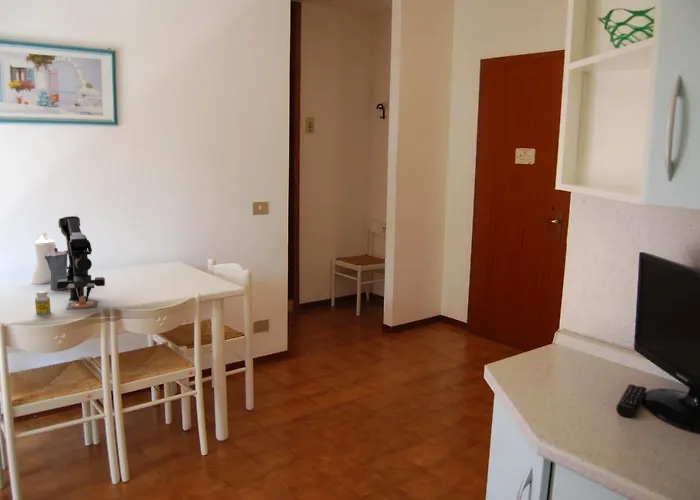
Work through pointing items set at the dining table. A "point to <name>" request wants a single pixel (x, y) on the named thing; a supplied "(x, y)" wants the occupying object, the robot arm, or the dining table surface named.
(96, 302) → the mat
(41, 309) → the supplement bottle
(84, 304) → the lid
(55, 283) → the moka pot
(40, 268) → the white bottle
